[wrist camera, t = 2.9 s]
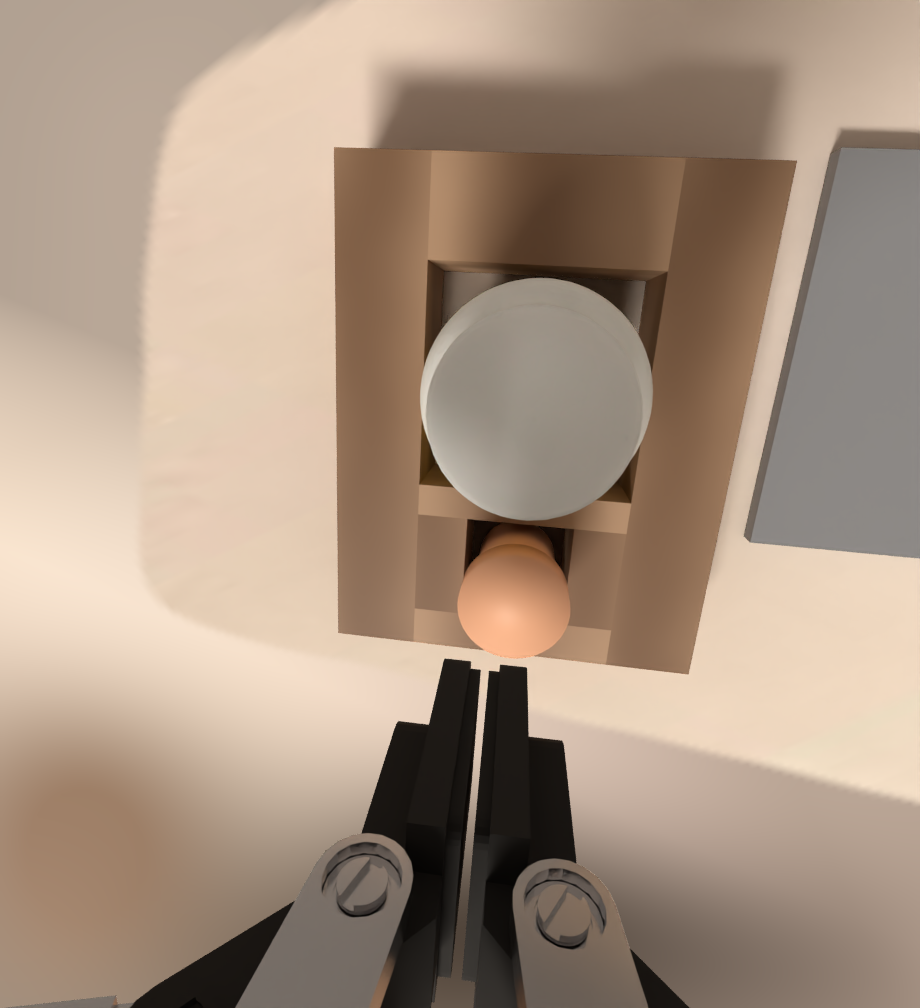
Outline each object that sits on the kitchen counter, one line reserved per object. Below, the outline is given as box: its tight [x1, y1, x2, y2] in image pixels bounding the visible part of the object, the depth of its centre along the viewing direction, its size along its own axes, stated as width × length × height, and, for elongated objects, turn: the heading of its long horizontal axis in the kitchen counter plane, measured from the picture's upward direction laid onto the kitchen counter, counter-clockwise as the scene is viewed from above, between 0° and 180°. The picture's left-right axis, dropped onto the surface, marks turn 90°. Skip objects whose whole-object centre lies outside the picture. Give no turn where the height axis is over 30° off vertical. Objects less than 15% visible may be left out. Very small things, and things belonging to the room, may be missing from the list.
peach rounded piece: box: [457, 523, 571, 658], centre depth 18 cm, size 3×3×4 cm
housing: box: [334, 147, 797, 674], centre depth 18 cm, size 12×15×3 cm
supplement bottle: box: [420, 278, 653, 521], centre depth 15 cm, size 5×5×10 cm
